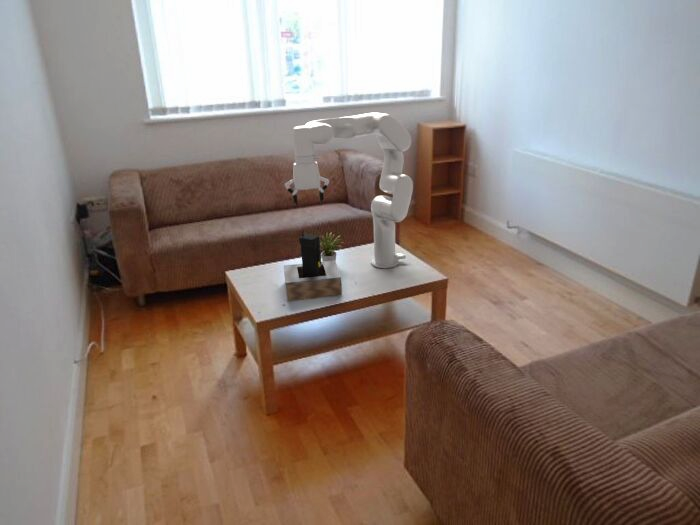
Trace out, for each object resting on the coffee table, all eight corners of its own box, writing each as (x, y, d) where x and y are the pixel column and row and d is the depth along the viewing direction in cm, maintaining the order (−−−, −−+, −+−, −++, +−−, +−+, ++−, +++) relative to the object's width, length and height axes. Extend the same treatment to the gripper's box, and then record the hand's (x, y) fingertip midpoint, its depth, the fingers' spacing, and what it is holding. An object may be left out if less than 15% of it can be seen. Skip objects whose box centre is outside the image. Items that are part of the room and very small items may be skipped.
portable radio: (326, 286, 216) (322, 229, 207) (318, 292, 211) (314, 234, 202) (310, 282, 220) (306, 226, 210) (302, 288, 215) (297, 231, 206)
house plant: (324, 276, 227) (322, 241, 221) (306, 267, 237) (303, 233, 231) (349, 267, 235) (348, 233, 229) (331, 259, 245) (329, 226, 239)
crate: (336, 277, 225) (335, 260, 222) (342, 295, 209) (341, 277, 206) (285, 282, 222) (283, 265, 219) (287, 301, 206) (285, 282, 203)
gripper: (326, 155, 201) (329, 198, 208) (281, 159, 199) (286, 202, 205) (329, 159, 194) (331, 203, 201) (282, 163, 192) (287, 207, 199)
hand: (308, 203), depth 203 cm, fingers open, 9 cm apart
